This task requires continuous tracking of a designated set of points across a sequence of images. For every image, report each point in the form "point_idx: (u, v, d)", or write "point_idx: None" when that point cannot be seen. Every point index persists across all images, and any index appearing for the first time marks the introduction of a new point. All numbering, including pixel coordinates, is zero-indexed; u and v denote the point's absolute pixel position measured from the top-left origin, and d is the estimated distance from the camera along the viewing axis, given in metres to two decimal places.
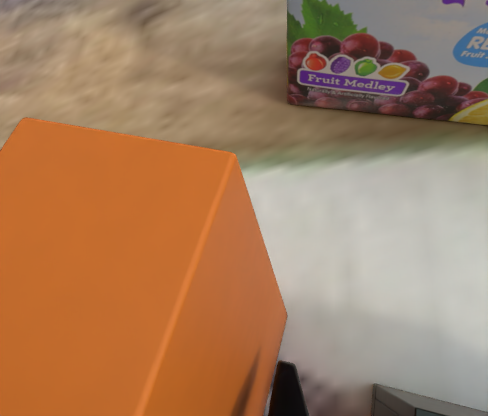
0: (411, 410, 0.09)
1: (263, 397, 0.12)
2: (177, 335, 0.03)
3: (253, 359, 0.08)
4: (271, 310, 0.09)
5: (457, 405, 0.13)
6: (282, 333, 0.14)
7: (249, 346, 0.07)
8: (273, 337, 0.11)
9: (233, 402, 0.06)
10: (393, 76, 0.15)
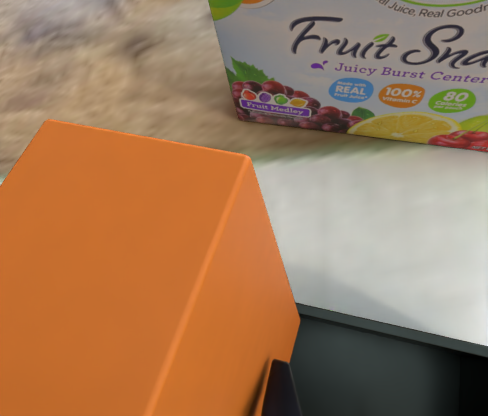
0: None
1: None
2: (189, 333, 0.03)
3: (264, 362, 0.08)
4: (284, 314, 0.09)
5: None
6: (295, 338, 0.14)
7: (261, 349, 0.07)
8: (285, 341, 0.11)
9: (243, 404, 0.06)
10: (299, 105, 0.23)
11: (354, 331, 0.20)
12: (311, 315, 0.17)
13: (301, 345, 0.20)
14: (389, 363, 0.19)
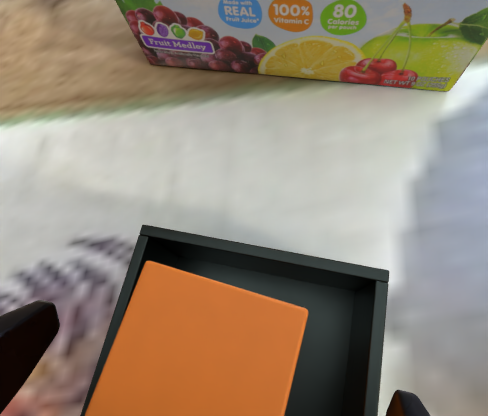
0: (143, 228, 0.16)
1: None
2: None
3: None
4: None
5: None
6: None
7: None
8: None
9: None
10: (198, 37, 0.21)
11: (247, 271, 0.19)
12: (174, 239, 0.15)
13: None
14: None
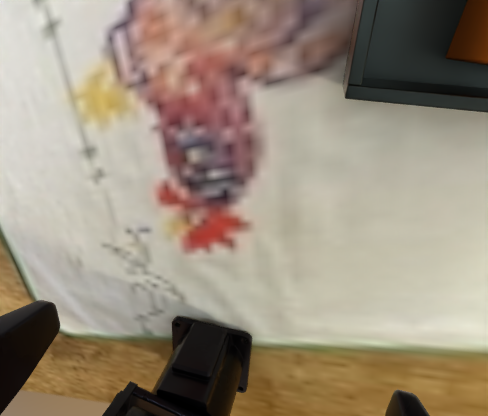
0: None
1: None
2: None
3: None
4: None
5: None
6: None
7: None
8: None
9: None
10: None
11: None
12: None
13: None
14: None
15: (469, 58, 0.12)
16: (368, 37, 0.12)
